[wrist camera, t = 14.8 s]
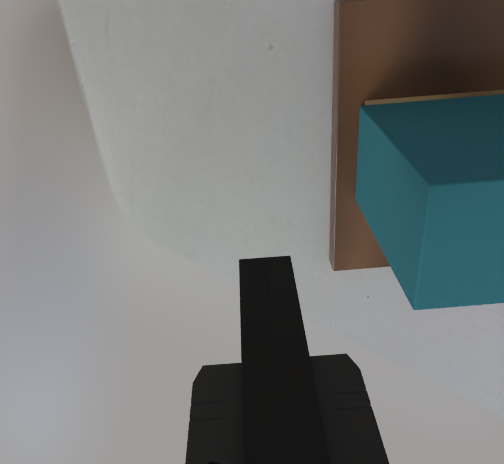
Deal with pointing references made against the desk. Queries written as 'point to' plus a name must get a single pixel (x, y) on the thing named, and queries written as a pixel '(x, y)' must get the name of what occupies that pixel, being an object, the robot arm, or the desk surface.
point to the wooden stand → (400, 86)
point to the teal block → (436, 196)
